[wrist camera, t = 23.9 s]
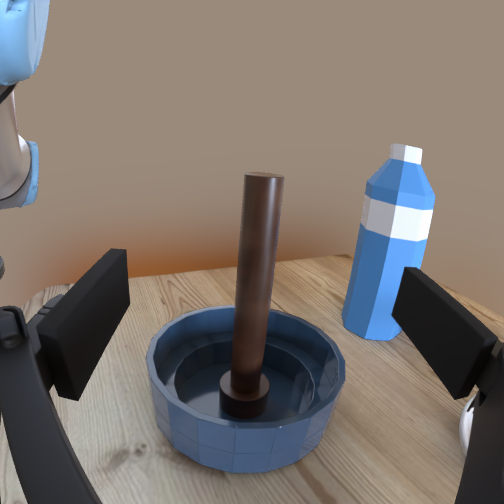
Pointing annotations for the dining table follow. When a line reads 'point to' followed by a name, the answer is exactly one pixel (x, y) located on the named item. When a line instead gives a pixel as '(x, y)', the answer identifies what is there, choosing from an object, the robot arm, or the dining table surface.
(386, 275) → the water bottle
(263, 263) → the pestle
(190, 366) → the bowl
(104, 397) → the dining table surface
